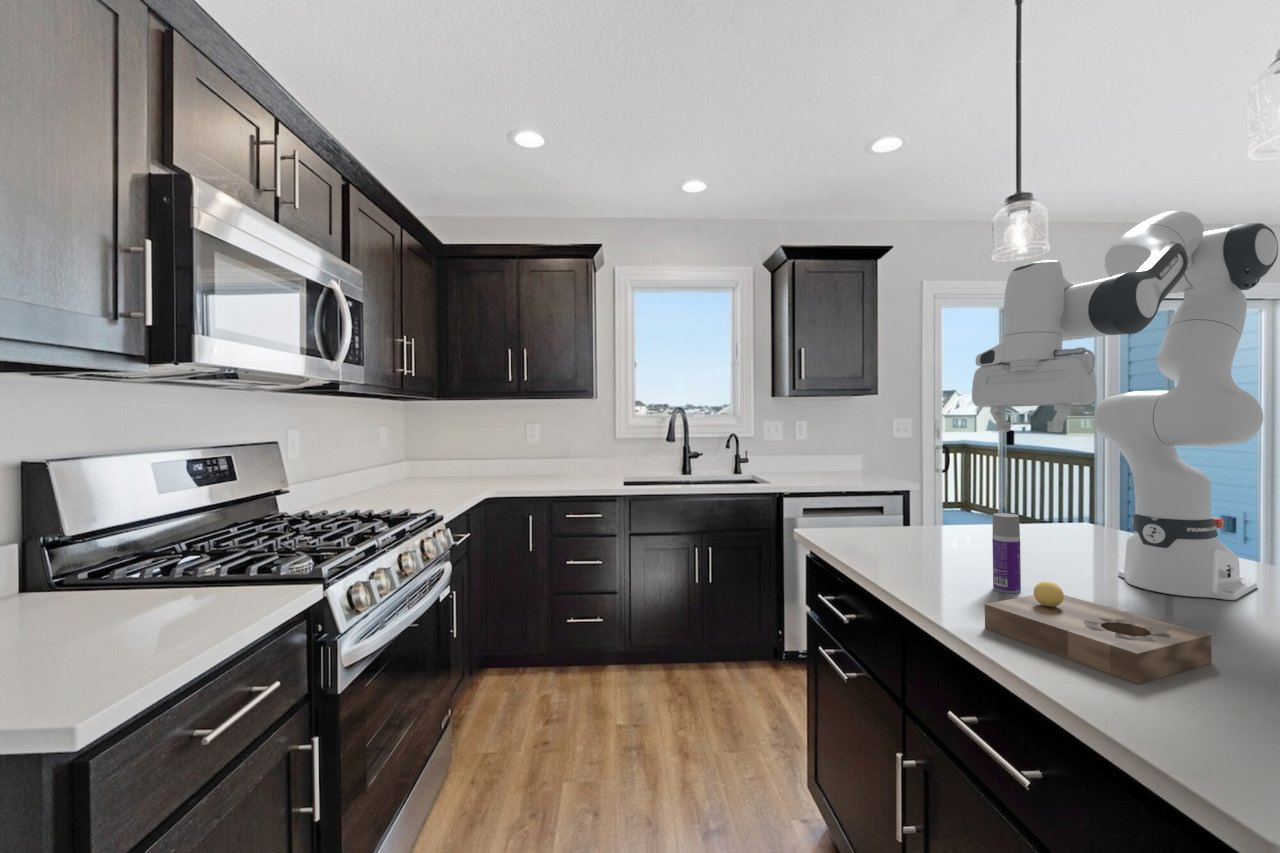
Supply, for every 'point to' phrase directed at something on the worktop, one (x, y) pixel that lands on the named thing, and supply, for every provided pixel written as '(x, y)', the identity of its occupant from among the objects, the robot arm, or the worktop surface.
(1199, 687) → the worktop surface
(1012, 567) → the container
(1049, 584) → the ball
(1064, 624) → the board
